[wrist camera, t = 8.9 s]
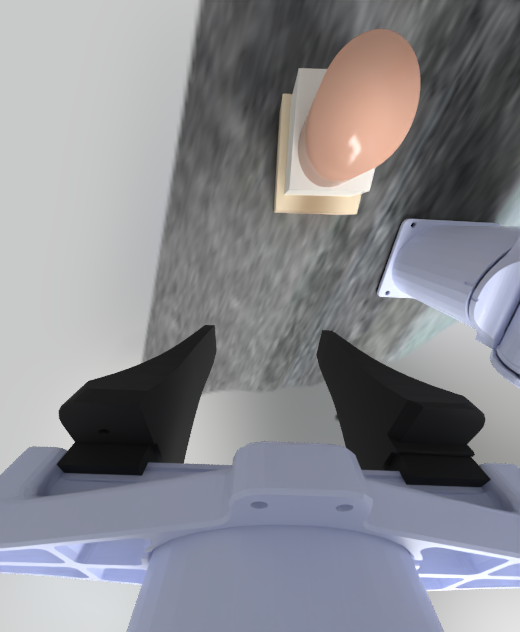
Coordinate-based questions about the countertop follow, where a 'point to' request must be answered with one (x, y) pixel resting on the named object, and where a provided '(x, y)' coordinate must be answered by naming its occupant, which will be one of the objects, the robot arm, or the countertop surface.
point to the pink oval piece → (360, 108)
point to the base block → (303, 202)
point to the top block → (299, 109)
